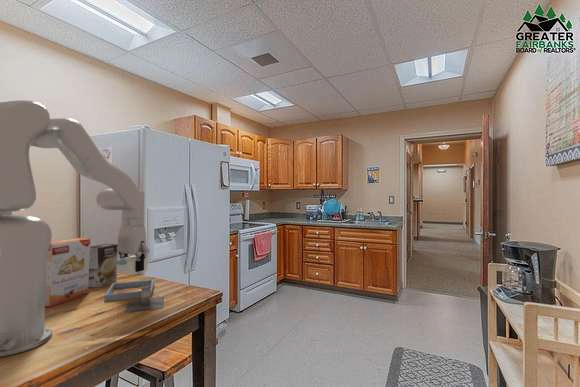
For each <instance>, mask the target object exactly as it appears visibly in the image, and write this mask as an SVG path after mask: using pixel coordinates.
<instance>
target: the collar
mask: <svg viewBox="0 0 580 387" xmlns="http://www.w3.org/2000/svg"><path fill="white" fill-rule="evenodd" d="M136 261H137V259H136V256H135V254H133V255H131V256H130V255H129V256H128V257H126V258H121V259H120V258H117V274H121V275H128V276H132V275H135V274H138V273H142V272H146V271H148V256H147V257H146V259H145V260H144V270H143V271H139V272H136Z"/></svg>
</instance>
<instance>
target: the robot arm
mask: <svg viewBox="0 0 580 387" xmlns="http://www.w3.org/2000/svg"><path fill="white" fill-rule="evenodd" d="M31 147H36V148H41V149H58V150H59V152H60V153H61V154H62V155H63V156H64V157H65V159H66V160H67V161H68V162H69V164H70V165H71V166H72V167H73V169H74V170H75V172H76V173H78V174H79V175H81V176H82V177H85V178H87V179H90V180H93V181H96V182H98V183H101V184H103V185H105V186H106V187H109V188H105V189H103V190H101V191H99V192H98V193H97V194H96V199H95V200H96V204H97V205H98V207H100V208H101V209H103V210H107V211H121V216H120V217H121V218H120V219H121V222H120V223H121V224H120V227H119V230H118V236H117V244H118V246H117V247H116V248H117V250H118V252H117V254H118V255H119V259H121V258H126V257H130V255H135V256H136V259H137V261H136V272H139V271H143V270H144V260H145V259H146V257H147V258H148V255H149V253H150V251H151V250H150V249H149V247H148V246H147V231H146V226H145V197H146V196H145V192H144V191H143V190H142V189H139V188H138V187H137V185H136V184H135V181H134V180H133V179H132V178H131V177H130V176H129V175H128V174H126V173H125V171H123V170H121V169H120V168H118V167H117V165H116V166H115V165H114V164H113V163H111V162H110V161H108V160H107V159H106V158H105V157H104V156H103V154H102V153H101V151H100V150H99V148H98V147H97V145H96V144H95V142H94V141H93V140H92V138H91V136H89V134H88V132H87V130H86V129H85V128H84V127H83V125H82V123H80V121H79V122H78V121H77V120H75V119H73V118H65V117H61V118H51V115H50V112H49V111H48V109H47V108H46V107H45V105H43V104H41V103H40V102H37V101H32V100H26V99H24V100H10V101H1V102H0V357H6V356H11V355H16V354H20V353H23V352H26V351H28V350H31V349H34V348H37V347H39V346H40V345H43V344H45V343H46V342H47V341H49V340H50V339H51V337H52V336H53V330H52V329H51V328H50V327H45V316H46V315H45V312H46V311H45V310H46V306H45V282H46V260H47V254H48V249H49V246H50V242H52V238H53V237H52V236H53V235H52V234H53V233H52V228H51V227H50V225H49V224H48V223H47V222H46V221H45V220H43V219H42V218H39V217H36V216H32V215H31V216H30V215H18V214H17V215H15V214H13V212H20V211H25V210H27V209H29V208H31V207H32V206H33V205H35V202H36V200H37V191H36V190H37V189H36V185H35V181H34V176H33V171H32V165H31V160H30V148H31ZM143 272H144V271H143Z"/></svg>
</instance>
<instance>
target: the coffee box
mask: <svg viewBox="0 0 580 387" xmlns="http://www.w3.org/2000/svg"><path fill="white" fill-rule="evenodd" d="M117 246H118V243H117V244H116V243H114V244H113V243H104V244H98V245H92V246H91V245H90V256H89V279H88V288H89V287H90V288H97V289H98V288H101V287H104V286H107V285H110V284H113V283H117V278H118V275H117V274H118V273H117V259H118V250H117V248H116V247H117Z"/></svg>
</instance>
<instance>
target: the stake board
mask: <svg viewBox="0 0 580 387" xmlns="http://www.w3.org/2000/svg"><path fill="white" fill-rule="evenodd" d="M150 288H151V285H142V286H141V287H140V289H141V291H142V297H140V298H141V299H130V300H128V302H127V305H126V307H125V310H124V312H123V313H124V314H130V313H137V312H145V311H151V310H154V311H155V310H158V309H159V310H160V309H164V306H165V296H158V297H151V296H150Z"/></svg>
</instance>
